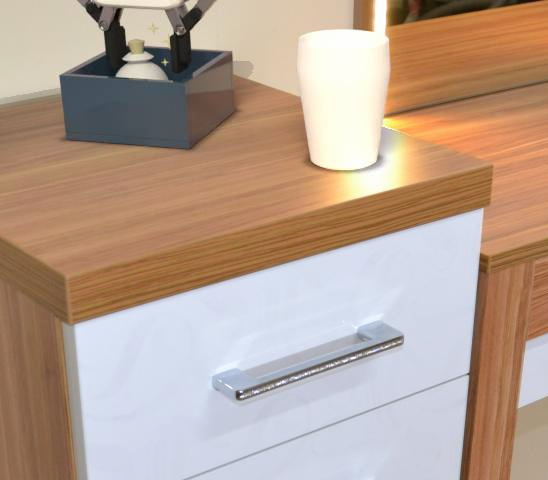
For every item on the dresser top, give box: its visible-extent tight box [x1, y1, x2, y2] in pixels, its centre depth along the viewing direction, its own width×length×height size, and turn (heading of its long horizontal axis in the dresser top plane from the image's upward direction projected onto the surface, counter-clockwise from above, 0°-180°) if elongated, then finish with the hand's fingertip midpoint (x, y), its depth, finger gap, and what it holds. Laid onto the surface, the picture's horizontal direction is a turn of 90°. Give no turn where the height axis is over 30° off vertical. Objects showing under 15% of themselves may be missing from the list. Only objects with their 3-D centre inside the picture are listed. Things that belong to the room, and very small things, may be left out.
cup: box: [296, 28, 391, 171], centre depth 112 cm, size 9×9×12 cm
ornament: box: [115, 22, 171, 80], centre depth 122 cm, size 6×7×10 cm
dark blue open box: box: [58, 44, 236, 150], centre depth 123 cm, size 15×14×7 cm
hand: (149, 67), depth 122 cm, fingers closed on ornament, 6 cm apart
